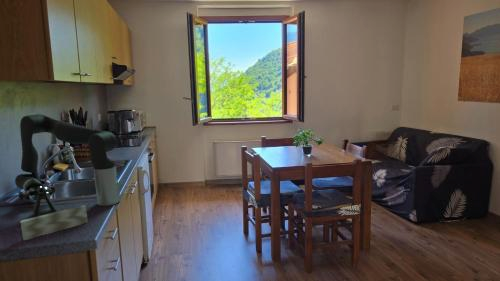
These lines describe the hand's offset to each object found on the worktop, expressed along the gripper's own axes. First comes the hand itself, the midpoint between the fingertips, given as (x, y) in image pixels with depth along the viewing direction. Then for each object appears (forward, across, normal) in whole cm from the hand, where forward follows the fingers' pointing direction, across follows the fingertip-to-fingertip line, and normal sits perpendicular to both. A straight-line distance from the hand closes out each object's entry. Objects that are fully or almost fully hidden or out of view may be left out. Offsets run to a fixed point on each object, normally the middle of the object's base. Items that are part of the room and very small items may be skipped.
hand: (40, 195), depth 154 cm
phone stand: (+7, 0, +7) cm, 10 cm away
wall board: (+22, 0, +7) cm, 23 cm away
